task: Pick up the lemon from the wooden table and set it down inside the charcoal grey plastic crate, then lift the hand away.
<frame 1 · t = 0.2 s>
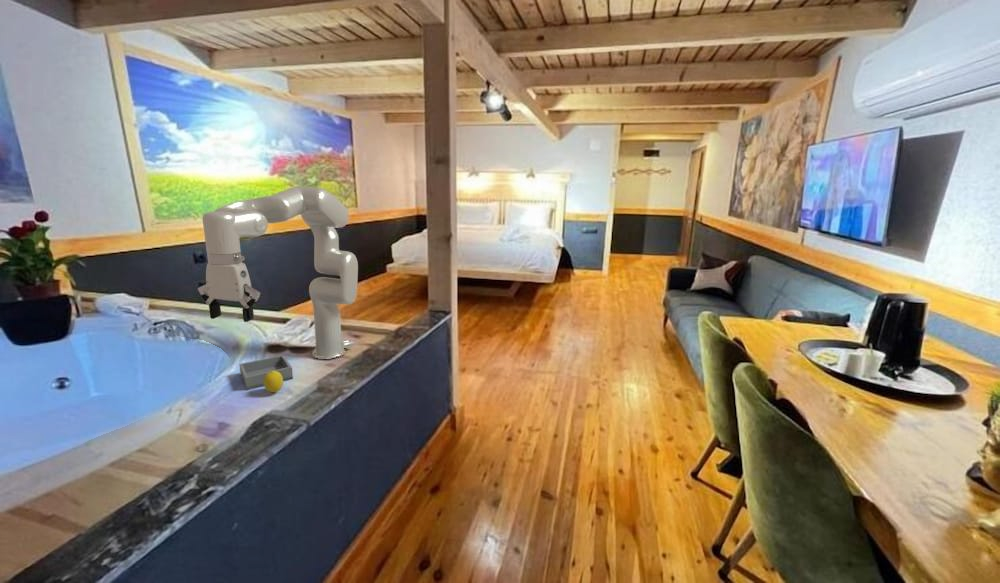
hand: (232, 318, 113), 30 cm above the table, tool pointing down, fingers open, 9 cm apart
lemon: (274, 393, 133), on the table
crate: (266, 377, 142), on the table
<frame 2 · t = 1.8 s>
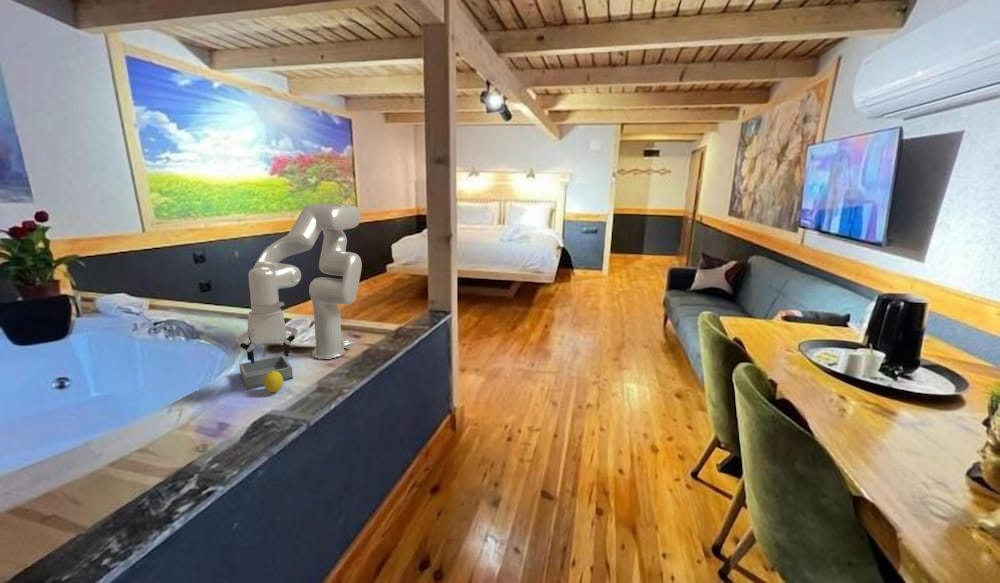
hand: (269, 358, 130), 12 cm above the table, tool pointing down, fingers open, 9 cm apart
nothing on the table moved.
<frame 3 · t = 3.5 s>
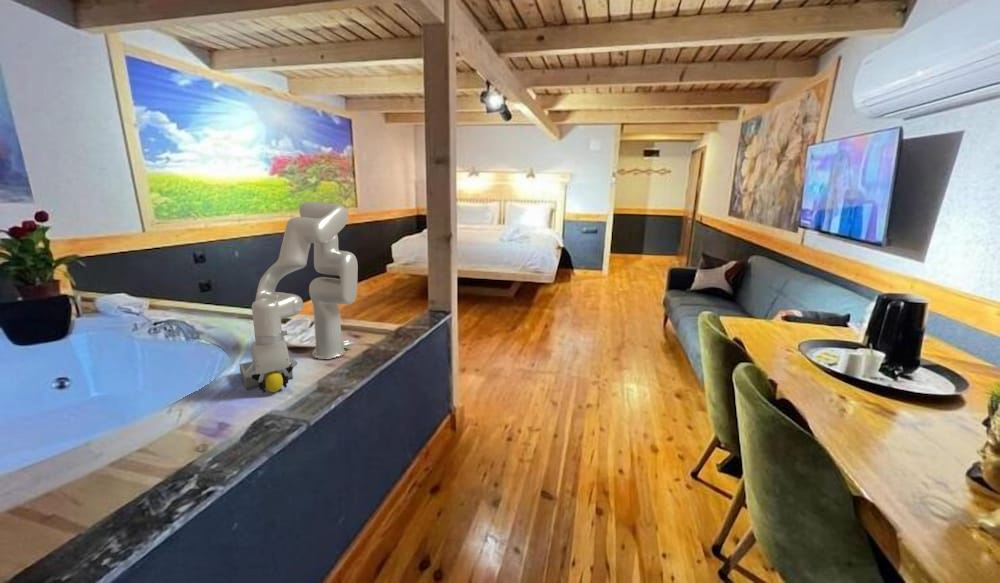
hand: (274, 387, 133), 2 cm above the table, tool pointing down, fingers closed on lemon, 5 cm apart
lemon: (274, 393, 133), on the table, touching gripper
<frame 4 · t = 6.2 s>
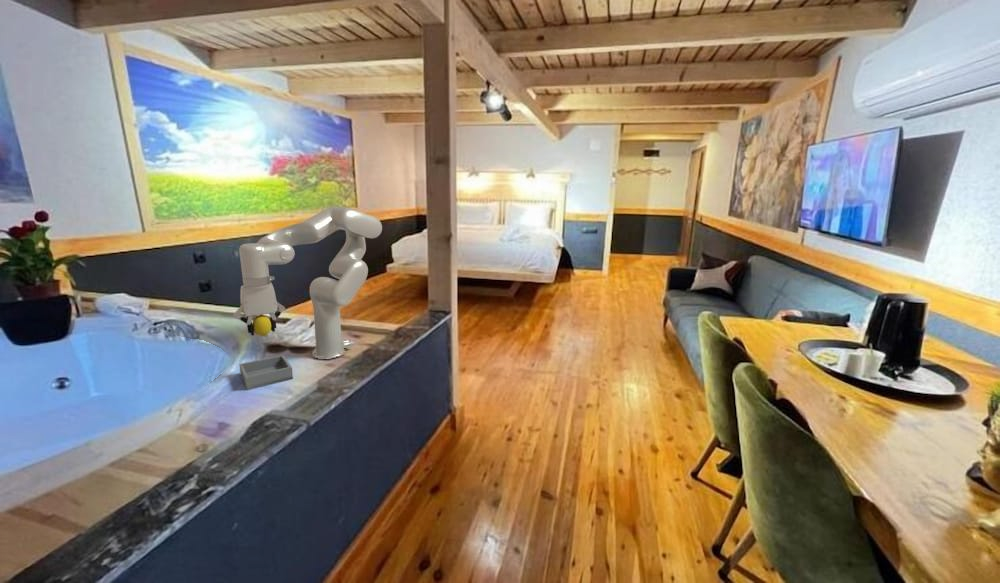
hand: (262, 331, 138), 17 cm above the table, tool pointing down, fingers closed on lemon, 5 cm apart
lemon: (263, 336, 138), point 15 cm above the table, touching gripper
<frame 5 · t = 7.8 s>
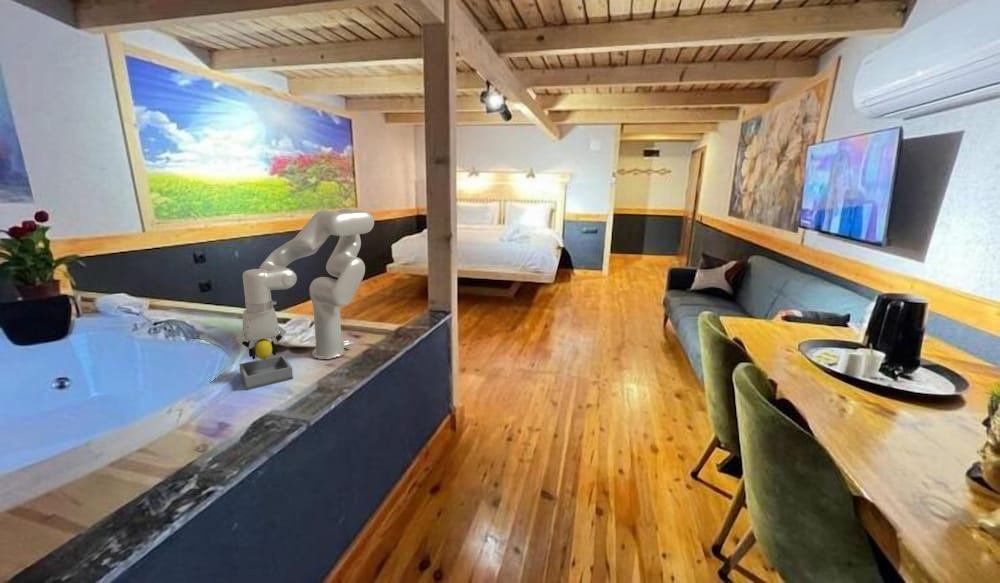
hand: (263, 355, 140), 9 cm above the table, tool pointing down, fingers closed on lemon, 5 cm apart
lemon: (264, 360, 140), point 7 cm above the table, touching gripper
when the fingers open (4 cm above the table, at t = 9.1 s): lemon drops 2 cm, resting on crate.
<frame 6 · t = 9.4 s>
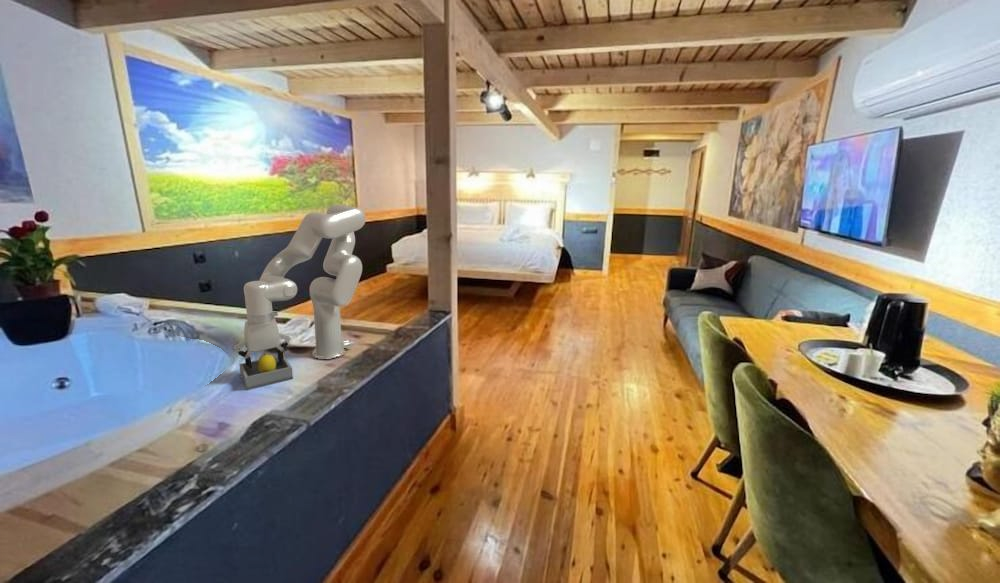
hand: (265, 363, 141), 5 cm above the table, tool pointing down, fingers open, 9 cm apart
lemon: (267, 375, 142), point 1 cm above the table, touching crate
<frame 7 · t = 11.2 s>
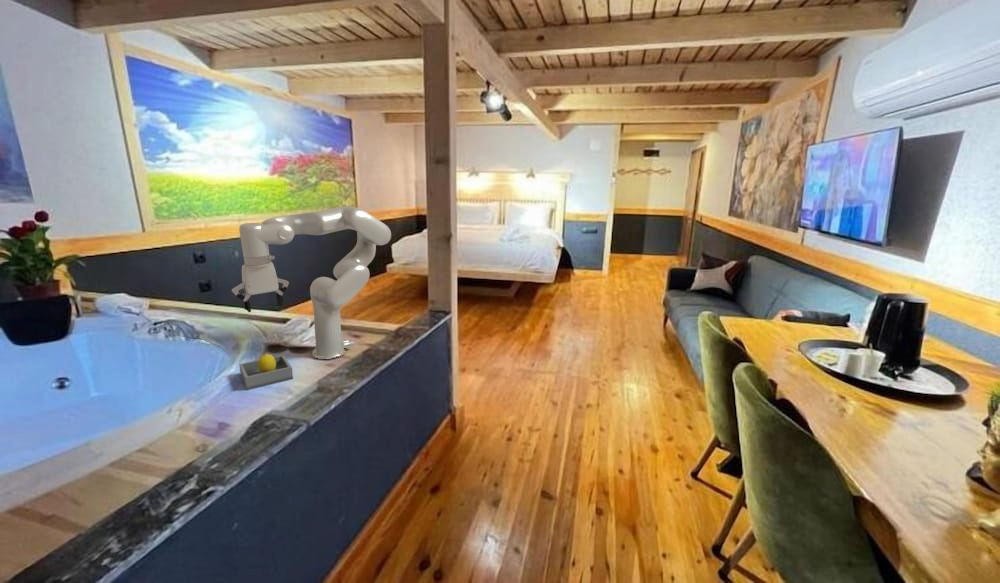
hand: (264, 308, 141), 24 cm above the table, tool pointing down, fingers open, 9 cm apart
nothing on the table moved.
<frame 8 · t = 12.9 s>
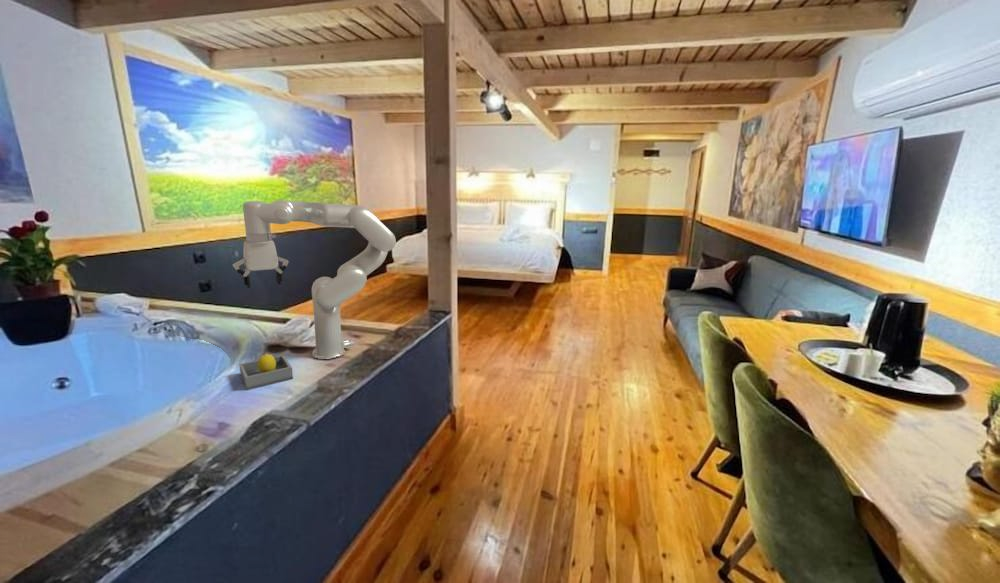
hand: (263, 285, 145), 30 cm above the table, tool pointing down, fingers open, 9 cm apart
nothing on the table moved.
at the end: lemon inside the target area on the crate (0.5 cm from its centre), point 0.8 cm above the crate's base; the gripper is holding nothing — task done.
